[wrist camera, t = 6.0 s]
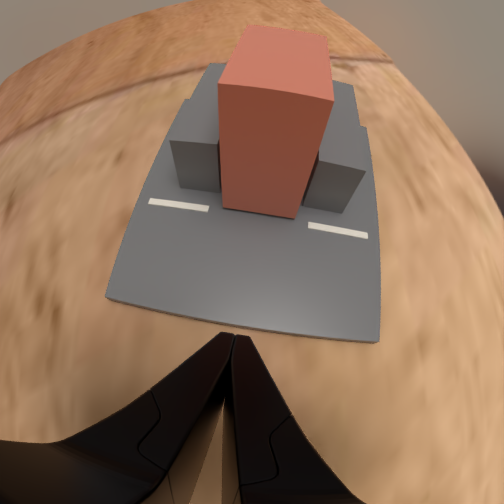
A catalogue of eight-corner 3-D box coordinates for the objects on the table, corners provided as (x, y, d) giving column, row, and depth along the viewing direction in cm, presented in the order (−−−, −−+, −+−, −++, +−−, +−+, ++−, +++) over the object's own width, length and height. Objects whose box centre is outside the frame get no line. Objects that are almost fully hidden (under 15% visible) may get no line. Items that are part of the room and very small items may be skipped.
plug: (295, 218, 20) (334, 101, 11) (222, 207, 20) (217, 83, 11) (301, 139, 23) (326, 36, 14) (242, 130, 23) (247, 24, 14)
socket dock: (373, 343, 18) (422, 326, 12) (109, 299, 18) (67, 269, 13) (363, 132, 26) (383, 88, 21) (185, 105, 26) (180, 57, 21)
